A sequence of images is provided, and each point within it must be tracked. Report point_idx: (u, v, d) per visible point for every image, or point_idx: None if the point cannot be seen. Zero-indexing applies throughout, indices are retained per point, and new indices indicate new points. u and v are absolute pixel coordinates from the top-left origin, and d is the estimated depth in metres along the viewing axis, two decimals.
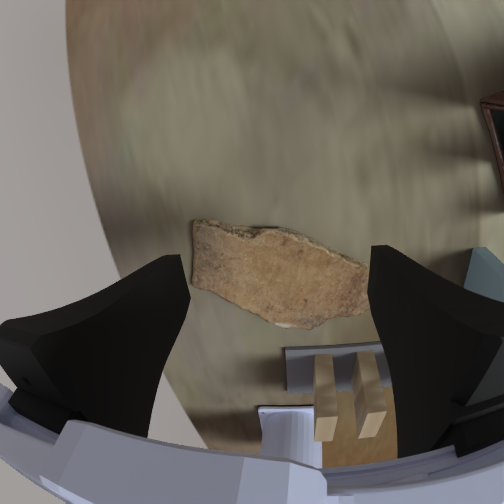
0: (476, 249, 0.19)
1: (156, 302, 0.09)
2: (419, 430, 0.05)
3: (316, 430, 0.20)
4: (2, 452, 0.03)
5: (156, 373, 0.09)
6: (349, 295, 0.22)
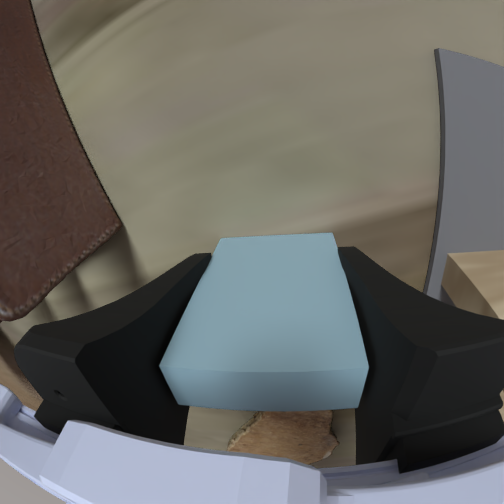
0: None
1: None
2: (369, 439, 0.05)
3: None
4: (2, 452, 0.03)
5: None
6: (300, 421, 0.17)
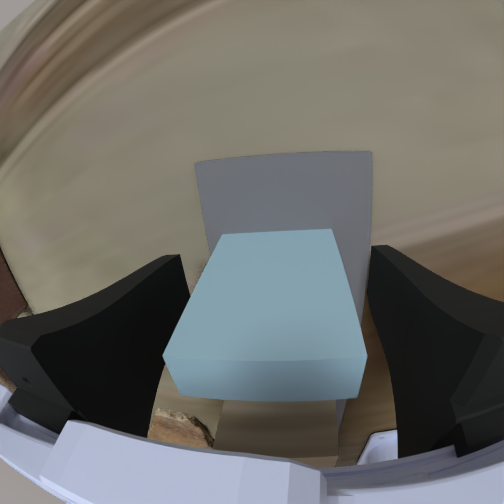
0: None
1: (156, 301, 0.09)
2: (419, 430, 0.05)
3: None
4: (2, 452, 0.03)
5: (156, 373, 0.09)
6: (181, 432, 0.21)
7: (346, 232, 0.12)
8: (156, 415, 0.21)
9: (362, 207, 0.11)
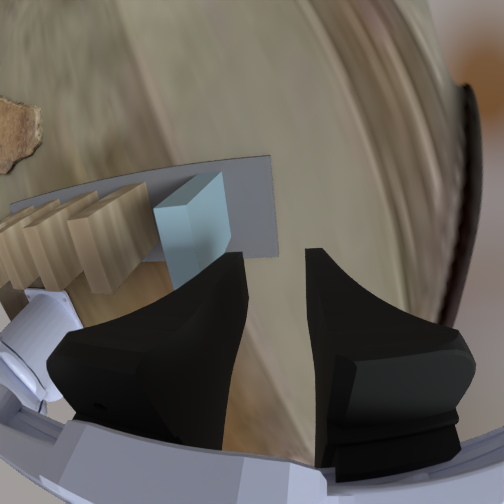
0: (199, 174, 0.18)
1: (228, 302, 0.09)
2: (319, 443, 0.05)
3: None
4: (2, 452, 0.03)
5: (227, 380, 0.08)
6: (21, 135, 0.18)
7: (229, 245, 0.21)
8: (33, 109, 0.17)
9: (246, 252, 0.21)
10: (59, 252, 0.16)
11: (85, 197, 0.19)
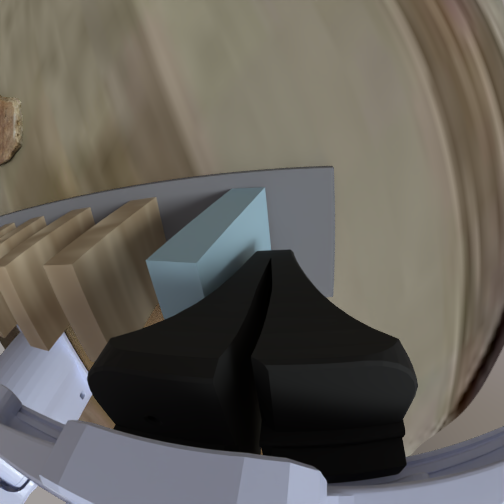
0: (233, 190, 0.13)
1: (265, 301, 0.08)
2: None
3: None
4: (2, 452, 0.03)
5: None
6: None
7: None
8: (12, 103, 0.12)
9: None
10: (41, 298, 0.11)
11: (75, 217, 0.14)
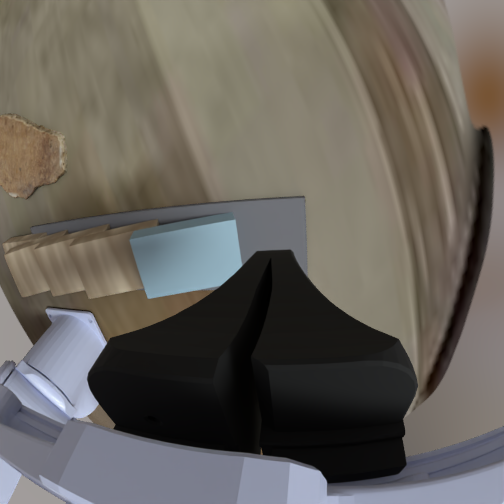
0: (228, 213, 0.20)
1: (265, 301, 0.08)
2: None
3: None
4: (2, 452, 0.03)
5: None
6: (43, 161, 0.19)
7: None
8: (57, 136, 0.18)
9: None
10: (54, 272, 0.20)
11: None
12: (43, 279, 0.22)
